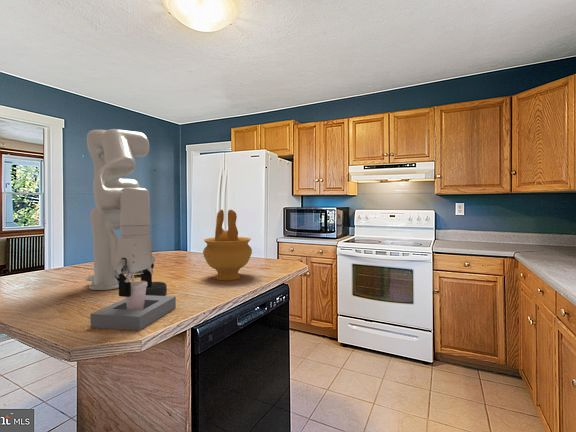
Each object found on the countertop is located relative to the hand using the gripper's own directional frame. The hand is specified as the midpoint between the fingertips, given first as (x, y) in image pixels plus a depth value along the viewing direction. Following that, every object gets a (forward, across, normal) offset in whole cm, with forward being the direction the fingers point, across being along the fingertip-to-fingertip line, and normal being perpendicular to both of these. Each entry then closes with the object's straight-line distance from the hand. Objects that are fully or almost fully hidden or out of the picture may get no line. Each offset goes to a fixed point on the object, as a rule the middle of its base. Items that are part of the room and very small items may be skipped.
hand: (136, 291), depth 90 cm
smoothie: (+7, 0, 0) cm, 7 cm away
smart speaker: (+8, -21, -8) cm, 24 cm away
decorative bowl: (+8, -51, +9) cm, 52 cm away
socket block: (+7, 0, 0) cm, 7 cm away
